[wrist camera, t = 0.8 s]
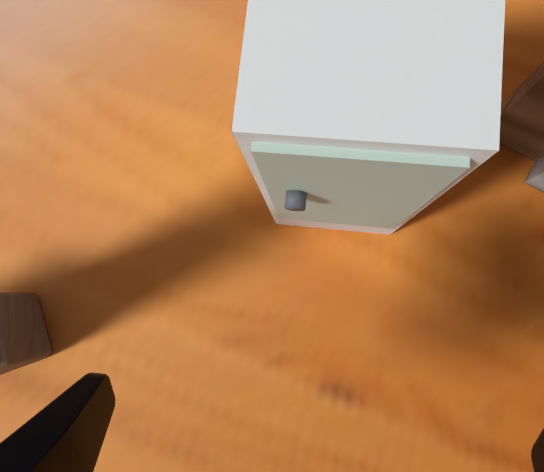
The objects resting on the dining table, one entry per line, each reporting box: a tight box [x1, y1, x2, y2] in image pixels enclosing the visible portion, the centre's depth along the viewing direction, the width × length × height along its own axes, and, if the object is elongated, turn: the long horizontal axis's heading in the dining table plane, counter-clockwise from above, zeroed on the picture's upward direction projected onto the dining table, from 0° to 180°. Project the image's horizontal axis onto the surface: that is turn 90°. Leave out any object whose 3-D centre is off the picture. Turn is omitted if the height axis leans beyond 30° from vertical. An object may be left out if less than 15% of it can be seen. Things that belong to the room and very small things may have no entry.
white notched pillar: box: [232, 0, 505, 234], centre depth 16 cm, size 6×6×13 cm
